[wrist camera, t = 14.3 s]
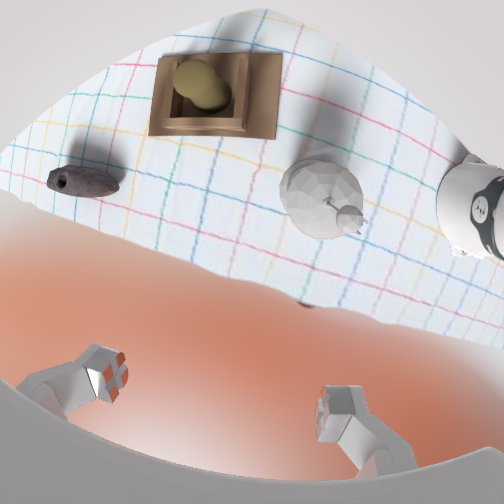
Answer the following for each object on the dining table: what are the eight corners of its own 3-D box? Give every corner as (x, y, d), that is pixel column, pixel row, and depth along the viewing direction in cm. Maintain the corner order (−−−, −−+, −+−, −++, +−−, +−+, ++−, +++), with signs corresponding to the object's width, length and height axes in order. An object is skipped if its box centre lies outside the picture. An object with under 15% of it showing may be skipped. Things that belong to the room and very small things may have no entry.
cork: (192, 82, 36) (165, 58, 26) (230, 75, 35) (213, 47, 25) (194, 117, 38) (165, 101, 27) (233, 111, 37) (216, 92, 27)
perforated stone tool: (128, 173, 42) (105, 176, 36) (123, 203, 44) (100, 209, 37) (69, 161, 43) (45, 163, 36) (66, 187, 44) (42, 192, 38)
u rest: (282, 57, 34) (281, 43, 29) (275, 139, 39) (274, 135, 33) (161, 60, 36) (147, 49, 31) (151, 136, 40) (134, 133, 35)
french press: (301, 146, 38) (330, 112, 15) (364, 190, 39) (457, 220, 15) (266, 200, 41) (245, 242, 18) (329, 241, 42) (379, 327, 18)
